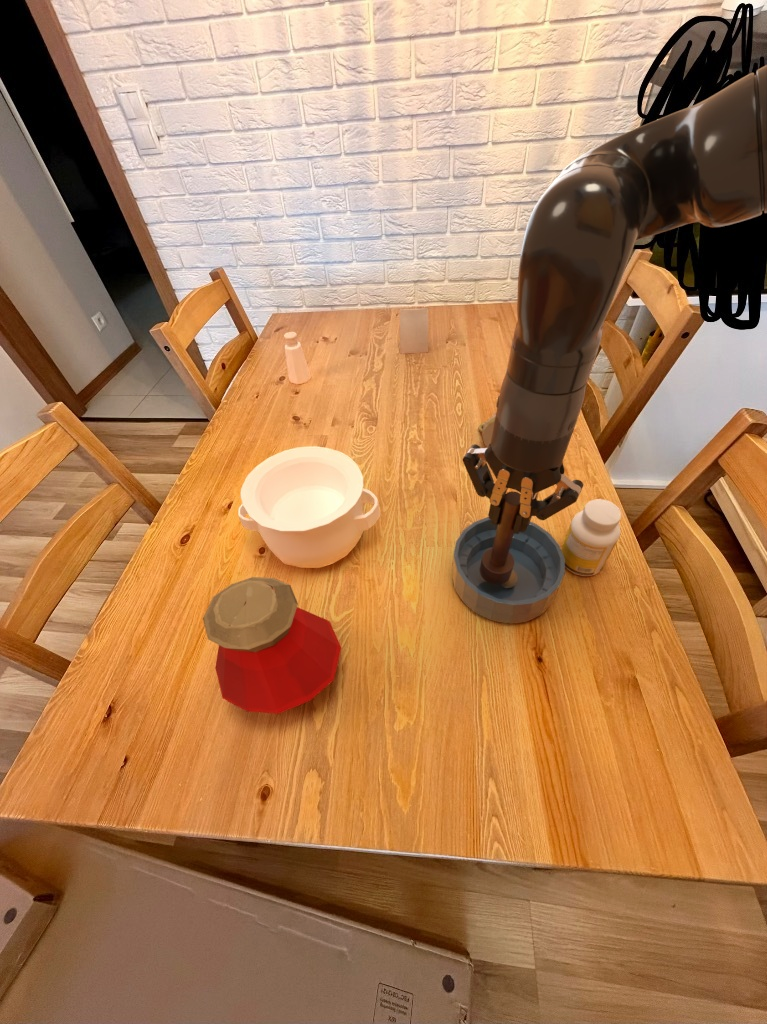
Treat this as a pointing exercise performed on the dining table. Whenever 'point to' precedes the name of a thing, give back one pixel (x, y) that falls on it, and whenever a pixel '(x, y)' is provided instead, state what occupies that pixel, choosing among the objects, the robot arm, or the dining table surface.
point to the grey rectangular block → (414, 330)
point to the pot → (308, 505)
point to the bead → (511, 580)
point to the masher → (502, 543)
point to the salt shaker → (296, 360)
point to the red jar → (269, 646)
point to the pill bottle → (591, 537)
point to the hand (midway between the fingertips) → (507, 524)
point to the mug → (487, 430)
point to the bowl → (532, 563)
